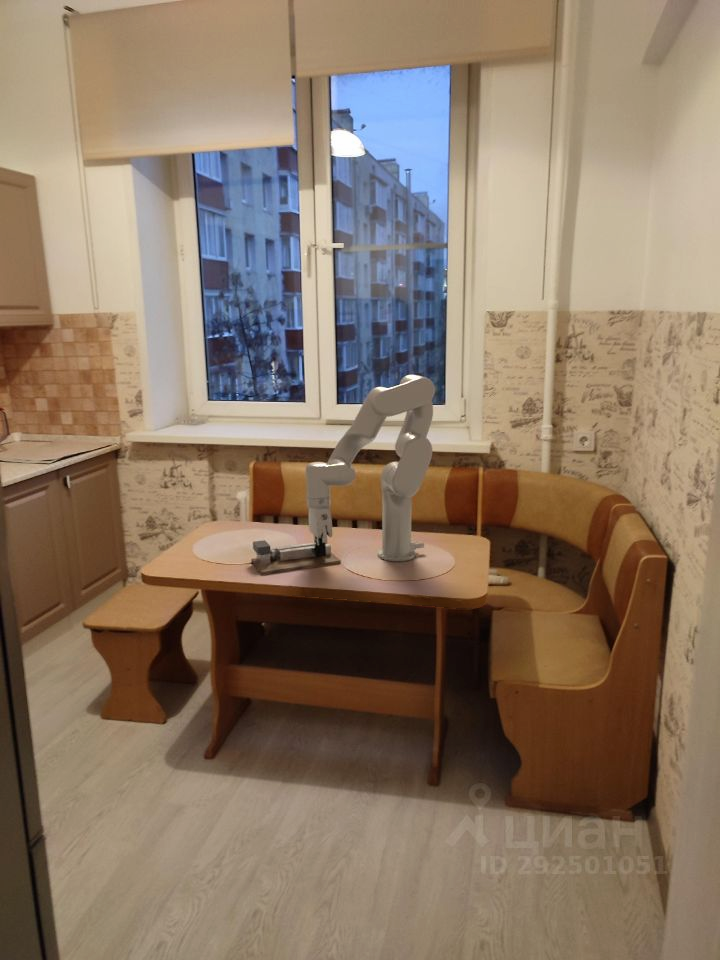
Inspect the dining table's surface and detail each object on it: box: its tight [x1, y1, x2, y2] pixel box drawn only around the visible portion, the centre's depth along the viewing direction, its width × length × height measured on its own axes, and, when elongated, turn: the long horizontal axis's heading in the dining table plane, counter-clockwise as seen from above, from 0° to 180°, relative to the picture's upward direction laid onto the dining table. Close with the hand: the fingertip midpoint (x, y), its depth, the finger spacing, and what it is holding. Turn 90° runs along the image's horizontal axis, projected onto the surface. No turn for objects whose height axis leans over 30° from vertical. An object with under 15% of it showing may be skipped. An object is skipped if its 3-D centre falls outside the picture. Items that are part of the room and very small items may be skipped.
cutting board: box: [251, 552, 342, 576], centre depth 216 cm, size 26×13×1 cm, turn 113°
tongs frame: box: [255, 541, 328, 565], centre depth 217 cm, size 24×6×3 cm, turn 113°
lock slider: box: [252, 539, 271, 555], centre depth 213 cm, size 4×6×2 cm, turn 23°
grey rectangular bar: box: [270, 543, 332, 561], centre depth 217 cm, size 20×4×3 cm, turn 111°
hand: (320, 555), depth 216 cm, fingers closed
